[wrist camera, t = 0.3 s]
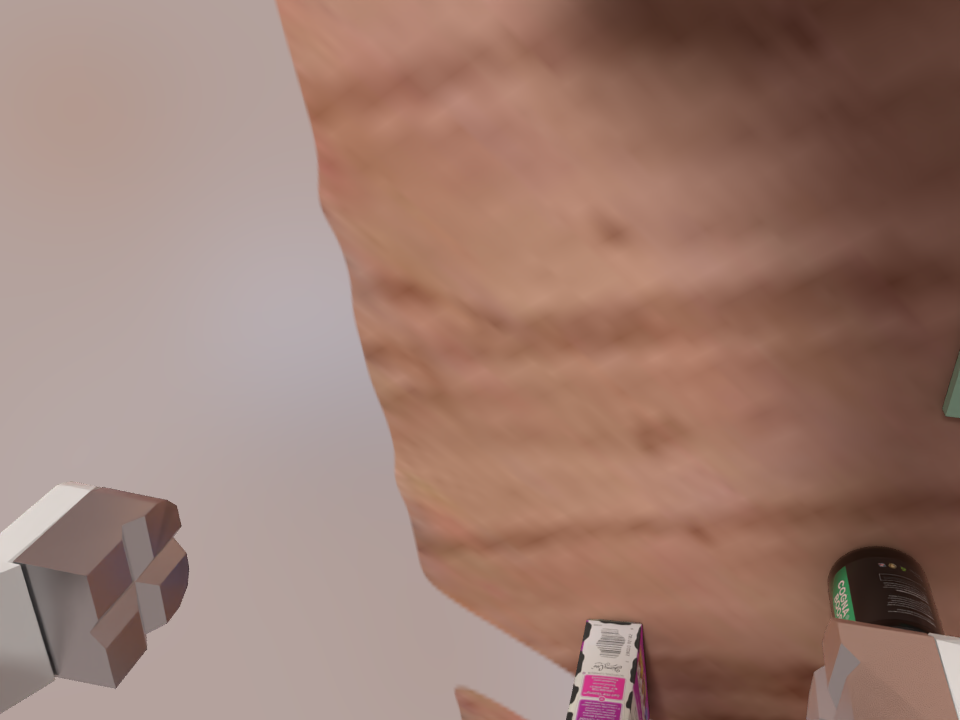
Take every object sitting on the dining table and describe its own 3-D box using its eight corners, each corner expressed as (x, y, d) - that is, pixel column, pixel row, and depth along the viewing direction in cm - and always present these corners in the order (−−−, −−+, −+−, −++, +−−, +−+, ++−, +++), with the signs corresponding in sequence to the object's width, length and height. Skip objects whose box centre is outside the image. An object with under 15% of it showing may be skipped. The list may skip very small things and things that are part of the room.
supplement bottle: (809, 564, 65) (825, 686, 54) (897, 529, 62) (932, 652, 51) (855, 626, 66) (880, 757, 56) (944, 596, 63) (987, 728, 53)
